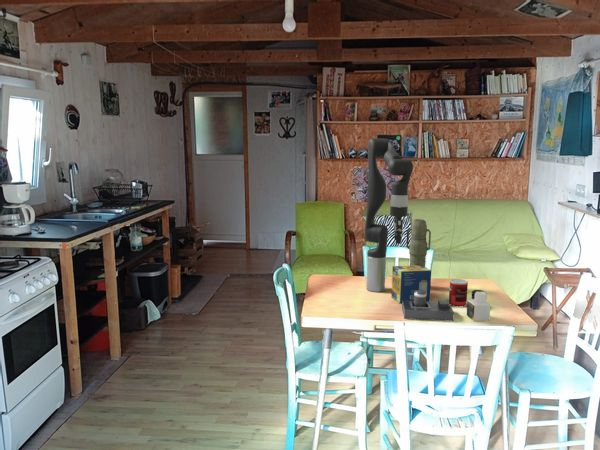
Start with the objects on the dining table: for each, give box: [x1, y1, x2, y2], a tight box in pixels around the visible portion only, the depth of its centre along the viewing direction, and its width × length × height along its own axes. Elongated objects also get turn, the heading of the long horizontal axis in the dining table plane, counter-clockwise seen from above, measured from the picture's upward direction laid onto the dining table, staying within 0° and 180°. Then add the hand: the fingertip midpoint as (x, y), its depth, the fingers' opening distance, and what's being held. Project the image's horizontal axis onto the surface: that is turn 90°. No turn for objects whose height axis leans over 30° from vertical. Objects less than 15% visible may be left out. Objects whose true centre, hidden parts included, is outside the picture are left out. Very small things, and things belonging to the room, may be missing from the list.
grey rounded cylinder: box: [414, 290, 426, 307], centre depth 223 cm, size 5×5×10 cm
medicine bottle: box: [466, 289, 491, 322], centre depth 218 cm, size 7×7×12 cm
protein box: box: [391, 264, 432, 305], centre depth 243 cm, size 10×15×16 cm
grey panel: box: [401, 299, 454, 322], centre depth 222 cm, size 14×20×6 cm
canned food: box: [448, 278, 469, 307], centre depth 237 cm, size 8×8×11 cm
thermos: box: [406, 218, 432, 267], centre depth 263 cm, size 9×12×35 cm
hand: (397, 241), depth 228 cm, fingers open, 8 cm apart
